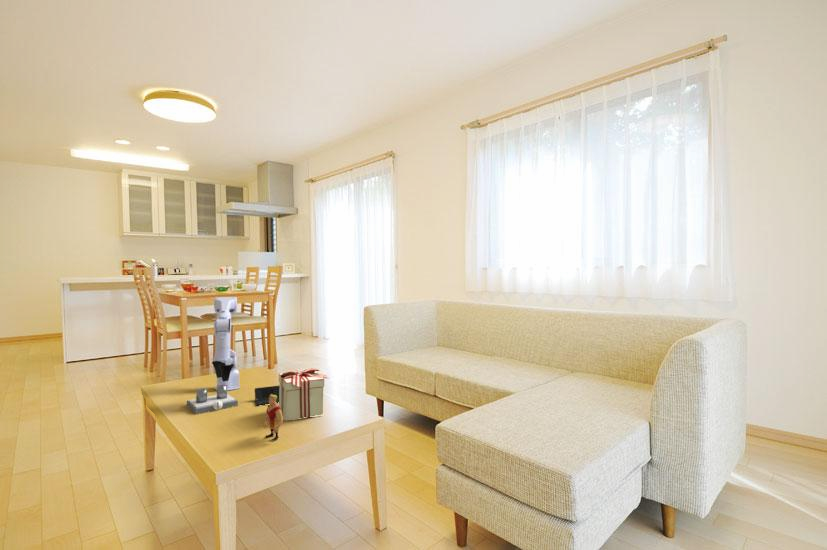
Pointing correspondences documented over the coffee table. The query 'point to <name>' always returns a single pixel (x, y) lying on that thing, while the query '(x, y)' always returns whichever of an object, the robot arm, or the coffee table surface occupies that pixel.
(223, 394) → the cylinder
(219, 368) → the robot arm
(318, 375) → the gift box
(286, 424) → the coffee table surface
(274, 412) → the action figure
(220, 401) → the white grey-edged panel
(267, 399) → the handheld gaming console
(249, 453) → the coffee table surface
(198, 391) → the cylinder
